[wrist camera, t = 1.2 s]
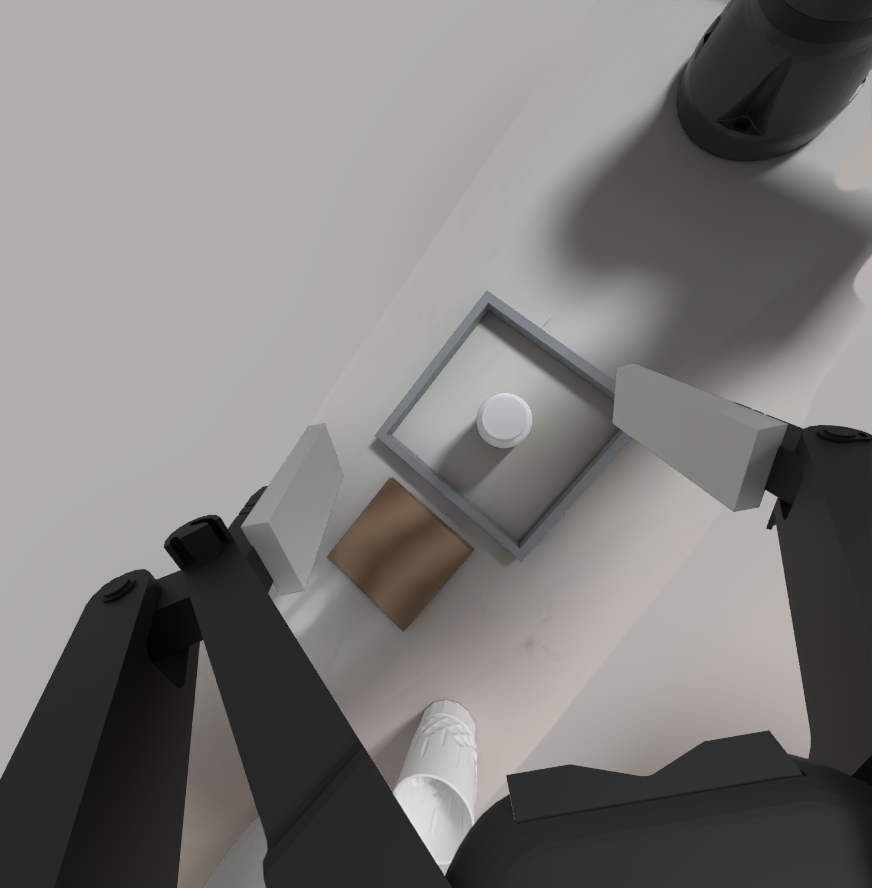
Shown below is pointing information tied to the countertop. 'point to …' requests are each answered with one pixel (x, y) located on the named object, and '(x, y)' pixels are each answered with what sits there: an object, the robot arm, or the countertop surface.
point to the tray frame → (555, 350)
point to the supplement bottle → (504, 420)
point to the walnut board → (399, 553)
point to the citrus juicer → (242, 861)
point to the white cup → (441, 779)
